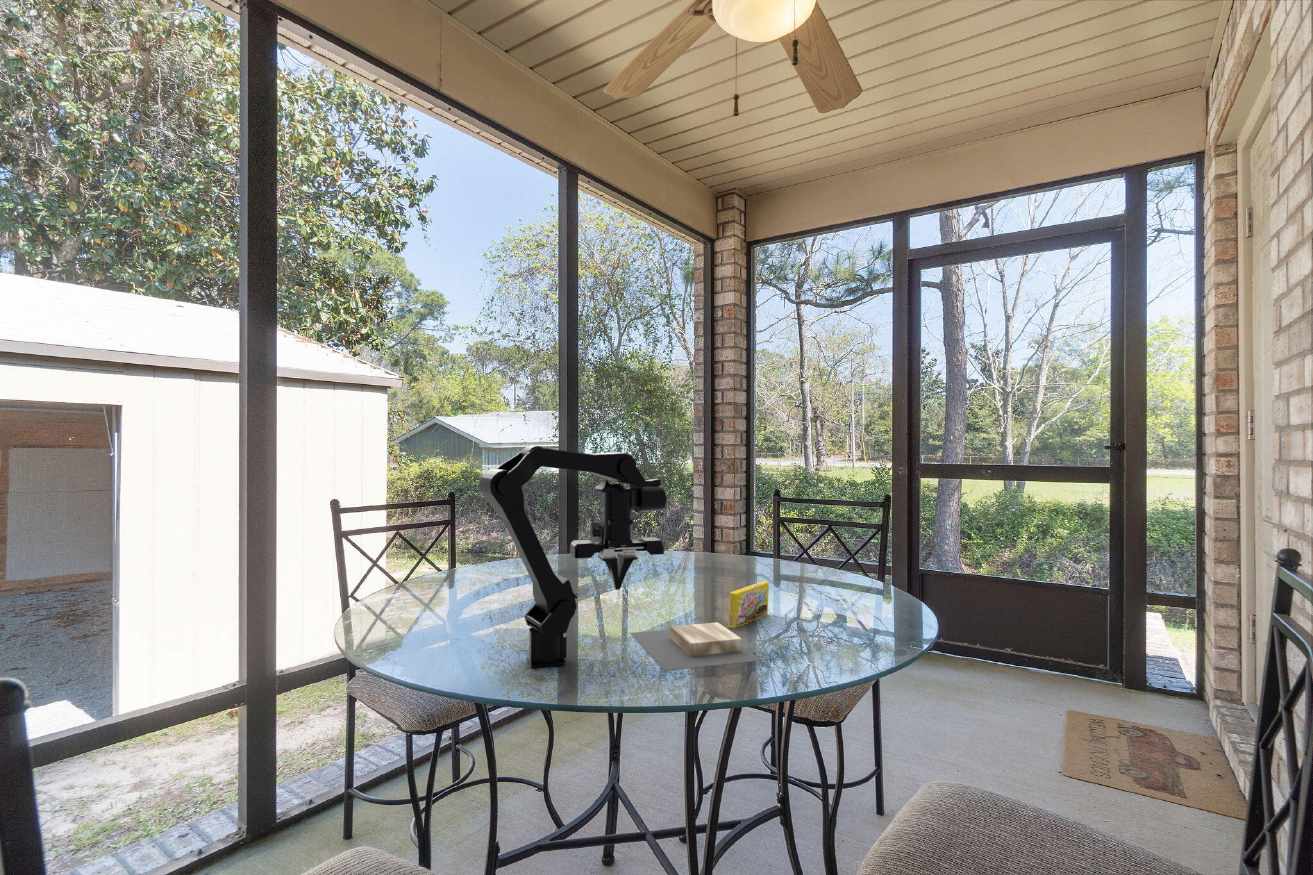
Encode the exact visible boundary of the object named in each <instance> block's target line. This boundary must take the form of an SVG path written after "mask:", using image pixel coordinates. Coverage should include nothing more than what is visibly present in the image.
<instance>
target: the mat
mask: <svg viewBox="0 0 1313 875" xmlns="http://www.w3.org/2000/svg"><path fill="white" fill-rule="evenodd" d="M629 634H630V635H631V636H632V638H634V640H635V641H636V642H637V643H638V644H639V645H640V646H641V647H642V648H643V649H644V650H645V651H646V653H647V654H648V655H649V656H650V657H651V658H652V659H653V661H655V663H656V664H658V666H660V668H661V669H662V670H663V671H664V672H669V671H679V670H687V669H688V670H689V669H695V668H704V667H714V666H722V665H732V664H742V663H750V662H759V661H762V659H761V657H759V656H757V655H755V654H754V653H753V652H752V651H750V650H749V649H747V648H746V647H745V646H743V645H742V644H741V651H737V652H727V653H718V654H708V655H698V656H690V655H688V654H687V653H686V652H685V651H684V650H683V649H682V648H681V647H680V646H679V645H677V644H676V643H675V642H674V641H673V640H672V639H671V638H670V629H658V630H656V629H655V630H649V631H648V630H647V631H635V632H629Z"/></svg>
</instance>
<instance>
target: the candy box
mask: <svg viewBox="0 0 1313 875" xmlns="http://www.w3.org/2000/svg"><path fill="white" fill-rule="evenodd" d="M769 584H770V582H768V581H765V580H762V581H759V582H757V583H754V584H750V585H747V586H745V587H742V588H740V589H736V590H733V591H730V592H729V604H728V606H729V607H728V625H727V626H728V628H732V629H736V628H738V627H740V626H741V627H743V626H745V625H748V624H749V623H748V622H750V623H752V622H753V621H752V620H754V621H756V620H758V619H761V618H763V617H765V616H767V615H768V613H769V611H768V610H769V591H770V590H769ZM764 615H765V616H764ZM760 617H761V618H760ZM755 619H756V620H755ZM751 621H752V622H751ZM744 624H745V625H744Z"/></svg>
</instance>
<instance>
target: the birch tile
mask: <svg viewBox="0 0 1313 875" xmlns="http://www.w3.org/2000/svg"><path fill="white" fill-rule="evenodd" d="M669 628H670V638H671V639H672V640H673V641H674V642H675V643H676V644H677V645H679V646H680V647H681V648H682V649H683V650H684V651H685V652H686V653H687V654H688V655H690V656H698V655H708V654H718V653H727V652H737V651H741V645H742V638H741V637H740V636H738V635H737V634H735V633H734V632H732V631H731V630H729V629H728V628H726V627H725V626H724V625H722V624H721V623H719V622H718V621H717V622H707V623H705V622H704V623H694V624H684V625H683V624H681V625H672V626H670V627H669Z"/></svg>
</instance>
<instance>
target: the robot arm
mask: <svg viewBox="0 0 1313 875" xmlns="http://www.w3.org/2000/svg"><path fill="white" fill-rule="evenodd" d="M541 467H543V468H551V469H553V468H554V469H561V470H570V471H579V472H585V473H589V474H592V475H594V476H597V477H600V478H604V480H603V479H601V481H600V482H599V484H598V485H597V486H595V487H594V488H593V490H594V491H595V492H597V493H603V517H602V524H600V522H590V524H589V538H590V539H591V540H593V539H598V543H594V542H593V541H591V540H590V539H577V540H572V541H571V543H570V547H569V548H570V549H569V553H570V555H571V557H573V558H574V559H592V558H593V556H594V555H595V554H597V558H598V559H600V560H601V561H603V562H604V563H605V565H606V567H607V569H608V572H609V574H610V578H611V581H612V584H613V585H612V586H613V588H614V590H616V591H618V590H619V591H620V590H621V587H622V584H623V582H624V580H625V577H626V575H627V574H628V573H627V572H628V571H629V569H630V568H631V565H632V563H633V561H636V560H637V561H638V560H639V559H638V558H639V556H637V555H636V554H637V552H640V551H641V552H644V551H645V552H647V553H648V554H649V555H650V556H651V555H652V556H654V555H664V554H665V543H664V541H662V539H660V538H658V537H655V536H654V537H652V536H651V537H650V536H649V537H639V540H638V541H633V539H632V525H633V522H634V520H633V519H632V516H633V515H632V514H633V513H632V510H633V511H634V512H636V513H645V512H660V511H663V510H664V509H665V507H666V504H667V495H666V491H665V488H664V487H663V486H662V484H661V483H662V480H661V479H658V478H650V479H648V480H645V477H643V474H642V473H641V472H640V470H639V469H638V467H637V462H636V460H635V457H634V456H633V455H632V454H630V453H627V452H597V453H585V452H576V451H570V450H561V449H556V448H555V449H554V448H546V447H543V446H541V445H528V446H526V447H524V448H523V449H522V450H521V451H520V452H518V453H517V454H516V455H514V456H512V457H511V458H510V459H508V460H506V461H504V462H502V463H501V464H499V466H498V467H497V468H491V469H488V470H487V471H485V472H484V473H483V474H482V476H481V477H480V480H479V482H478V489H479V491H480V492H481V494H482V495H483V497H484V498H485V500H486V501H487V502H488V504H489V506H491V508H492V509H493V510H494V511H495V512H496V513H497V514H498V515H499V516H500V517H501V519H502V521H503V523H504V525H505V527H506V530H507V531H508V533H509V536H510V537H511V539H512V542H513V543H514V546H515V549H516V550H517V552H518V554H519V556H520V558H521V561H522V563H523V565H524V567H525V569H526V572H527V574H528V576H529V578H530V580H531V582H532V595H533V599H534V604H533V605H532V606H531V607H530V609H528V611H527V612H526V613H524V614H525V615H523V616H524V620H525V623H526V625H527V626H528V627H529V628H528V654H527V661H528V664H529V666H530V668H532V669H533V668H534V669H535V668H544V667H545V668H546V667H555V666H564V665H566V659H567V654H568V653H567V648H568V647H567V645H568V643H567V640H568V639H567V636H566V634H567V632H568V628H569V626H570V623H571V620H572V618H574V616H575V613H576V610H577V608H578V604H577V601H576V599H578V596H577V595H576V594H575V592H574V591H573V587H572V584H571V582H570V580H569V579H567V578H566V577H563V576H561V575H560V574H555V573H554V570H553V569H552V566H551V564H550V562H549V560H548V557H547V555H546V553H545V550H544V548H543V547H542V545H541V542H540V540H539V538H538V536H537V533H536V531H535V530H534V527H533V525H532V522H531V519H530V518H529V517H528V514H527V513H526V509H525V507H526V504H525V495H524V491H523V486H524V485H526V483H528V482H529V481H530V480H531V479H532V477H533V476H534V475H535V473H537V471H538V470H539V469H540V468H541ZM605 479H606V480H605ZM609 480H611V481H615V482H617V483H611V482H610V481H609ZM625 485H628V486H629V487H625ZM616 553H617V554H616ZM615 554H616V555H617V557H616V555H615Z"/></svg>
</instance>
